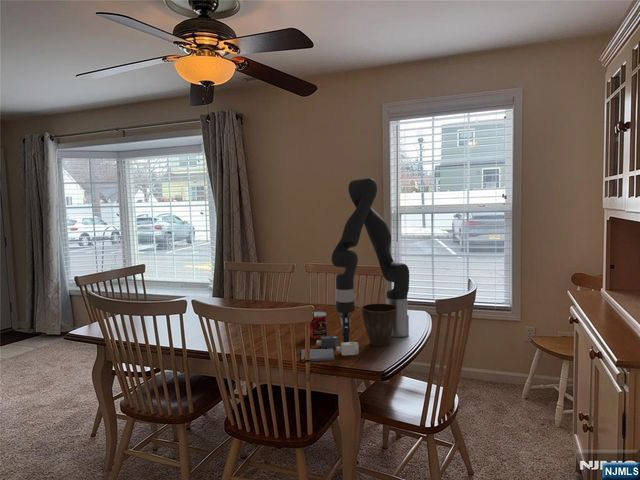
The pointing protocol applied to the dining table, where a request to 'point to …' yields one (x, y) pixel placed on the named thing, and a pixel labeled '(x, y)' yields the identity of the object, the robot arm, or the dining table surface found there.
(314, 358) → the felt pad
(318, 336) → the canned food
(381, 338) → the plant pot
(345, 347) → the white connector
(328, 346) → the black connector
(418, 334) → the dining table surface
